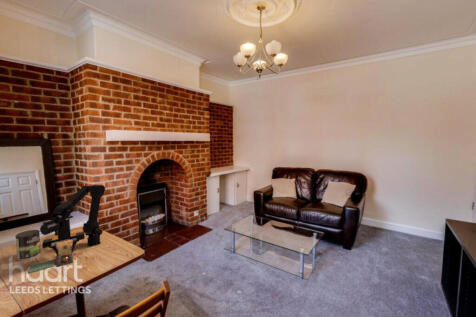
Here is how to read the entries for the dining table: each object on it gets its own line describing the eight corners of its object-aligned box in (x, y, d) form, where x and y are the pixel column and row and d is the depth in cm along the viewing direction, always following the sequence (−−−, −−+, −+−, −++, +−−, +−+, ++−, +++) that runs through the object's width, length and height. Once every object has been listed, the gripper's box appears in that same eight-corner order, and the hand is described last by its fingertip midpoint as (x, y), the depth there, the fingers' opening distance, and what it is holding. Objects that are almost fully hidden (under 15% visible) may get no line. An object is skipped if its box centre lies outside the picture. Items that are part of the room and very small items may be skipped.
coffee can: (45, 252, 132) (44, 230, 131) (26, 261, 122) (24, 237, 121) (32, 250, 134) (30, 228, 133) (12, 259, 124) (10, 236, 123)
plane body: (58, 255, 129) (58, 247, 129) (72, 251, 133) (72, 244, 133) (57, 266, 117) (57, 258, 117) (72, 262, 121) (72, 254, 121)
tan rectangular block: (59, 251, 126) (59, 246, 126) (70, 248, 129) (70, 243, 129) (59, 256, 120) (59, 250, 120) (70, 253, 123) (70, 248, 123)
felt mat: (54, 260, 124) (54, 259, 124) (53, 266, 118) (53, 265, 118) (30, 266, 118) (30, 265, 118) (28, 273, 111) (28, 272, 111)
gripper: (82, 219, 135) (84, 243, 137) (43, 227, 124) (44, 253, 125) (84, 225, 127) (85, 250, 128) (41, 233, 115) (43, 261, 117)
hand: (65, 253), depth 125 cm, fingers open, 6 cm apart
